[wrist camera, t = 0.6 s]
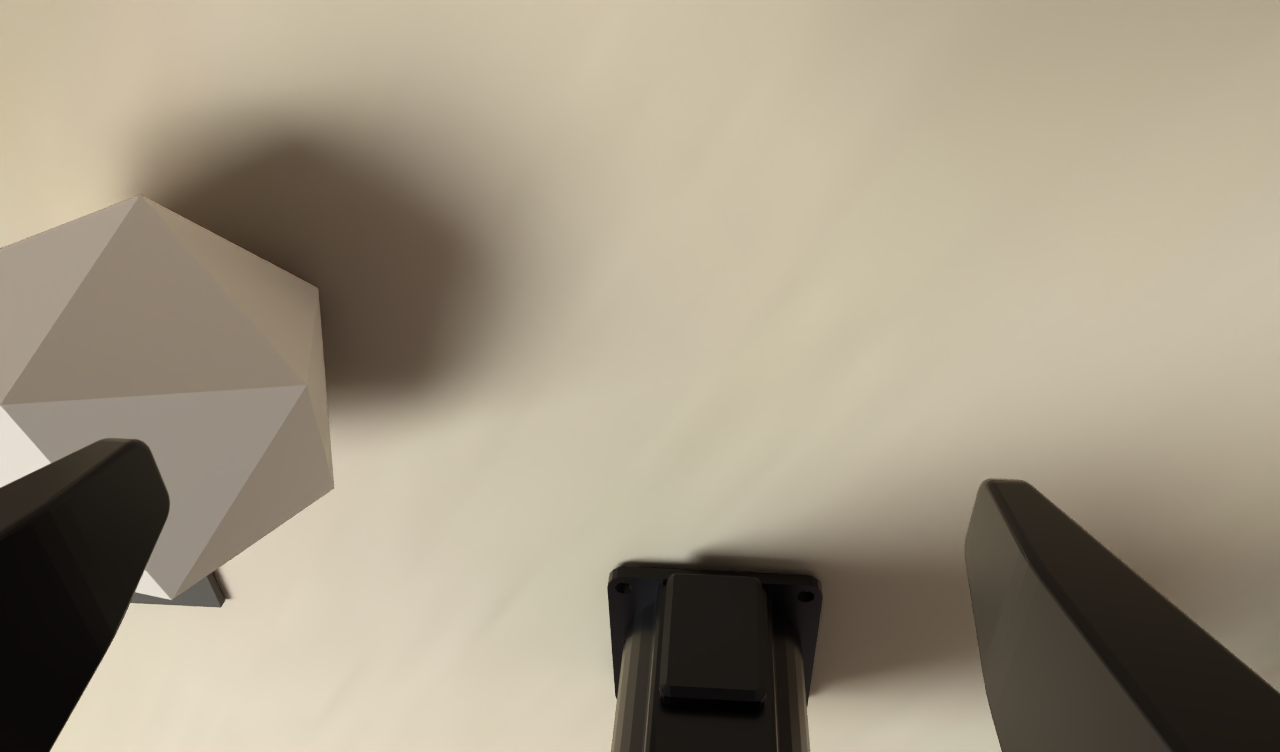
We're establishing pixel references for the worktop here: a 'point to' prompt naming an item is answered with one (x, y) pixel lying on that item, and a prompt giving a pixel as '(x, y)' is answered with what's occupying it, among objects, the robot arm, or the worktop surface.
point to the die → (167, 374)
